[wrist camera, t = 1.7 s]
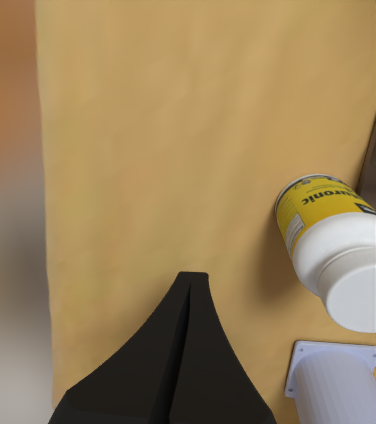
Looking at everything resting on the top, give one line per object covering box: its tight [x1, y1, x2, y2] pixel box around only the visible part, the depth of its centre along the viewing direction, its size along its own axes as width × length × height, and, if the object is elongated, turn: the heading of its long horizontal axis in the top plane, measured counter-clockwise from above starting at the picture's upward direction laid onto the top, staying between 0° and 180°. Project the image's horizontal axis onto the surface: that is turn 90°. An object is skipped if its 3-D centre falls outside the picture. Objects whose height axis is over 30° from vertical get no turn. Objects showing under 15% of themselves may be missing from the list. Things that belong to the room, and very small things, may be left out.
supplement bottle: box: [275, 174, 376, 333], centre depth 16 cm, size 5×5×10 cm
